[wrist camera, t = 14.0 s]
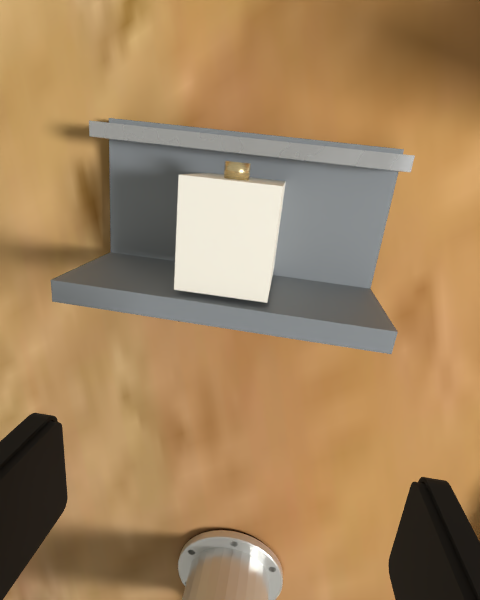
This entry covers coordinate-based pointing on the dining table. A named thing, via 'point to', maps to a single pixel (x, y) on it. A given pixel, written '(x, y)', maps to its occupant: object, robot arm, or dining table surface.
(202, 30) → the dining table surface
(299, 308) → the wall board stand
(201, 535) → the robot arm
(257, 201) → the cabinet block
